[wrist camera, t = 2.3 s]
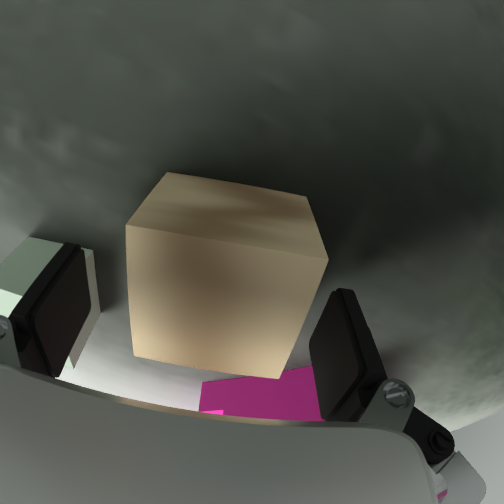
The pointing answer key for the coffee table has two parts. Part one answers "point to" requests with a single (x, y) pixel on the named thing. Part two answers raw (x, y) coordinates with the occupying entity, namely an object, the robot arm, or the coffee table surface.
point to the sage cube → (26, 271)
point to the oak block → (221, 274)
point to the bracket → (264, 397)
